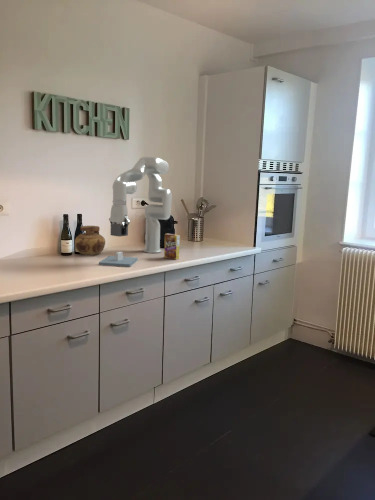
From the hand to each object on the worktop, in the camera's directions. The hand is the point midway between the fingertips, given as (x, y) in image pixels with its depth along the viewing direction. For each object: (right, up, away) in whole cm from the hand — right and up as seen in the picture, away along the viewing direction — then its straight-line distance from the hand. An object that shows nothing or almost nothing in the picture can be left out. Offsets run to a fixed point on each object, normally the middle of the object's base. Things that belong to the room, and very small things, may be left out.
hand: (119, 233), depth 254 cm
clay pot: (-22, -12, +24) cm, 35 cm away
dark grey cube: (0, -1, 0) cm, 1 cm away
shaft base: (-1, -17, +3) cm, 17 cm away
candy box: (+30, -15, +21) cm, 39 cm away
